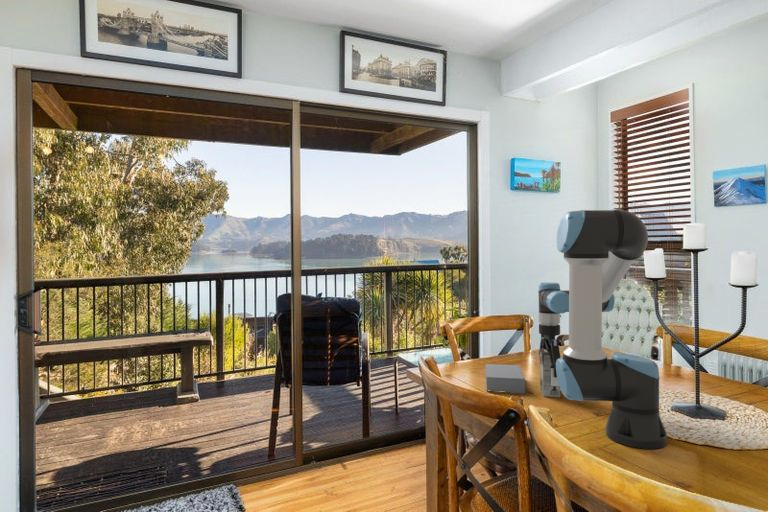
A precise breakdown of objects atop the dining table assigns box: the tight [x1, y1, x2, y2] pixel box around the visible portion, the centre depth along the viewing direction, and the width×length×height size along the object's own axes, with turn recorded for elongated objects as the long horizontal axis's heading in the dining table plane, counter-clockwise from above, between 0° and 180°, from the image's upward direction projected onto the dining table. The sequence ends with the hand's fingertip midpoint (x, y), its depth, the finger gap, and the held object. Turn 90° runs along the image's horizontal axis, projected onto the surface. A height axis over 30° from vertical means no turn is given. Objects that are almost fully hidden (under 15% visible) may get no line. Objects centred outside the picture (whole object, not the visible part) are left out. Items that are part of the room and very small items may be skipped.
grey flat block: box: [485, 363, 526, 395], centre depth 179 cm, size 20×14×6 cm
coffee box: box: [539, 347, 561, 398], centre depth 168 cm, size 9×6×16 cm
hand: (549, 380), depth 168 cm, fingers open, 13 cm apart
